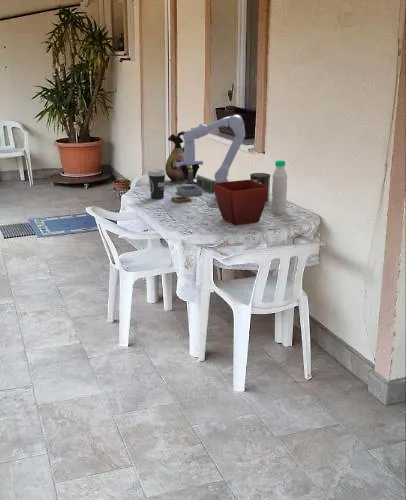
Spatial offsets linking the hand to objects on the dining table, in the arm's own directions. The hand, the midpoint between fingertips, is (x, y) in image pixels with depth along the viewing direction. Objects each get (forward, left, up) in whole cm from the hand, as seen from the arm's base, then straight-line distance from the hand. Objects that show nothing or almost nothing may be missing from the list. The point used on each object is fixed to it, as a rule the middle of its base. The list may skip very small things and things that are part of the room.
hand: (189, 179), depth 333 cm
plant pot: (-55, -4, -10) cm, 56 cm away
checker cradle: (-7, +7, -10) cm, 14 cm away
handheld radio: (+18, -15, -10) cm, 26 cm away
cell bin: (+7, -3, -10) cm, 12 cm away
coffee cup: (+4, +17, -10) cm, 20 cm away
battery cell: (0, 0, -2) cm, 2 cm away
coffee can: (-24, -30, -10) cm, 39 cm away
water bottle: (-48, -28, -10) cm, 56 cm away
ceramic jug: (+41, -10, -10) cm, 44 cm away
